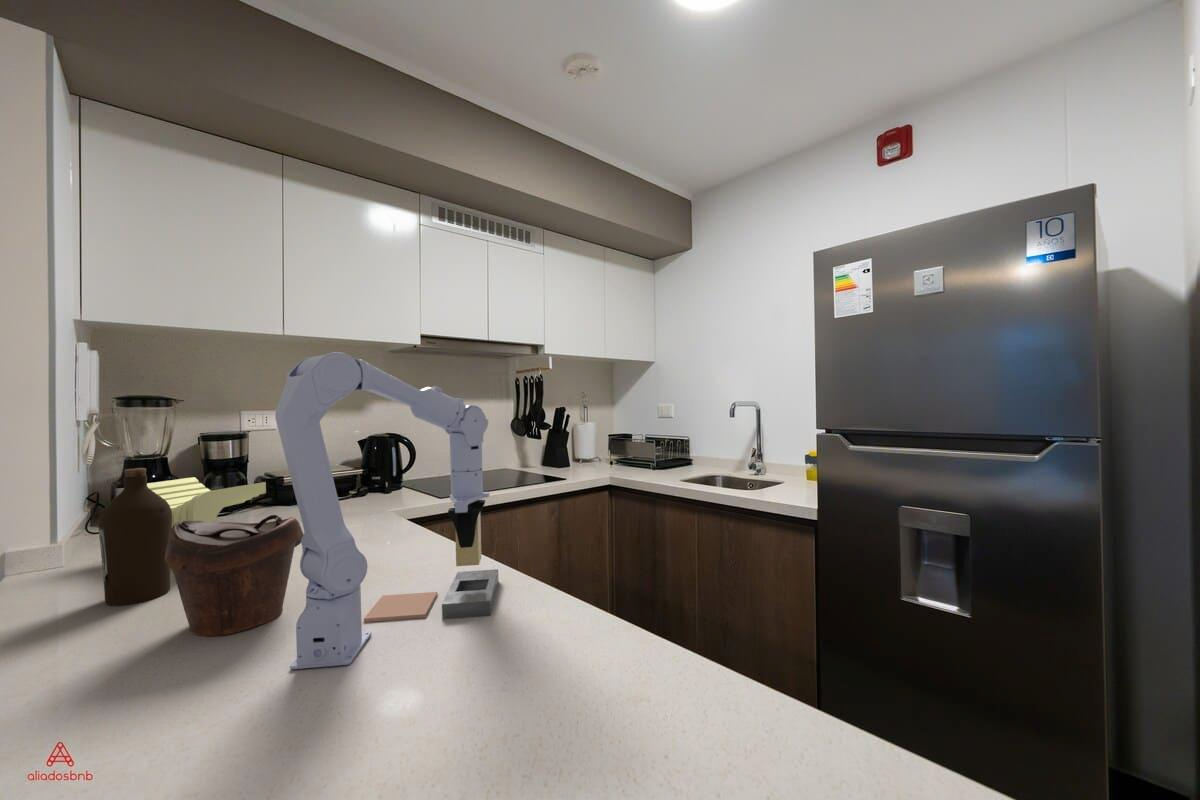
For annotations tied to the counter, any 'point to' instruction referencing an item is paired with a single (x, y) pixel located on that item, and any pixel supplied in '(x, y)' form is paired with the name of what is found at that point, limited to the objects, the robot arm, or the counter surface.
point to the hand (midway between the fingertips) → (468, 543)
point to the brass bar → (470, 549)
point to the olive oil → (135, 542)
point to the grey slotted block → (471, 594)
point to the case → (232, 571)
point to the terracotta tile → (401, 607)
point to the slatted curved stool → (201, 498)
